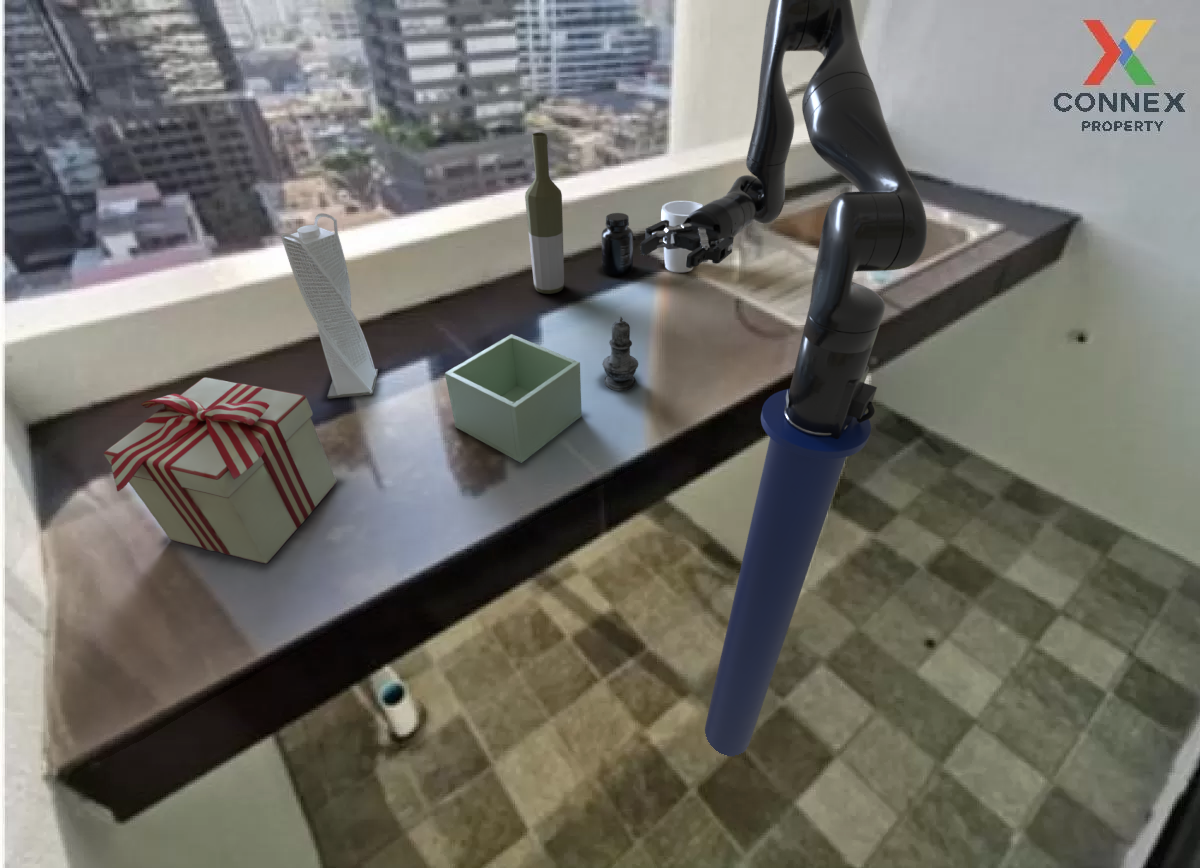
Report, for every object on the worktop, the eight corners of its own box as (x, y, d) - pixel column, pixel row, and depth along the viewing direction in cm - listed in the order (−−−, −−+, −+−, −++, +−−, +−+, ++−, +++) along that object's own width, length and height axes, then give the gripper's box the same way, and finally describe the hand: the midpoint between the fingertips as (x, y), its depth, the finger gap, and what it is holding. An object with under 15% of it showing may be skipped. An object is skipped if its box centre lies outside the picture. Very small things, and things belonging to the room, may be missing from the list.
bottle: (572, 290, 127) (566, 134, 108) (545, 300, 123) (534, 141, 104) (553, 278, 131) (544, 127, 112) (526, 288, 128) (512, 133, 108)
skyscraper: (386, 370, 103) (341, 204, 86) (381, 397, 97) (330, 225, 79) (335, 374, 102) (279, 208, 85) (326, 402, 96) (263, 229, 78)
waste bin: (581, 416, 93) (580, 362, 87) (521, 463, 85) (514, 407, 79) (517, 386, 99) (511, 333, 93) (455, 427, 91) (444, 372, 85)
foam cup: (686, 279, 130) (691, 219, 122) (650, 268, 135) (653, 209, 127) (707, 264, 136) (714, 206, 128) (672, 254, 141) (677, 197, 132)
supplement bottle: (630, 263, 137) (632, 210, 129) (634, 276, 132) (635, 221, 124) (600, 264, 137) (600, 211, 129) (602, 277, 131) (602, 222, 124)
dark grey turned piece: (627, 395, 97) (629, 329, 90) (595, 385, 99) (595, 320, 92) (643, 377, 101) (646, 313, 94) (612, 368, 103) (613, 304, 96)
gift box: (142, 567, 71) (57, 458, 60) (241, 463, 85) (187, 359, 74) (273, 588, 69) (210, 478, 58) (352, 478, 83) (314, 373, 72)
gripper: (681, 195, 107) (629, 222, 97) (754, 212, 101) (707, 243, 91) (678, 236, 112) (628, 266, 102) (748, 255, 106) (701, 289, 96)
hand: (665, 255), depth 97 cm, fingers open, 8 cm apart
